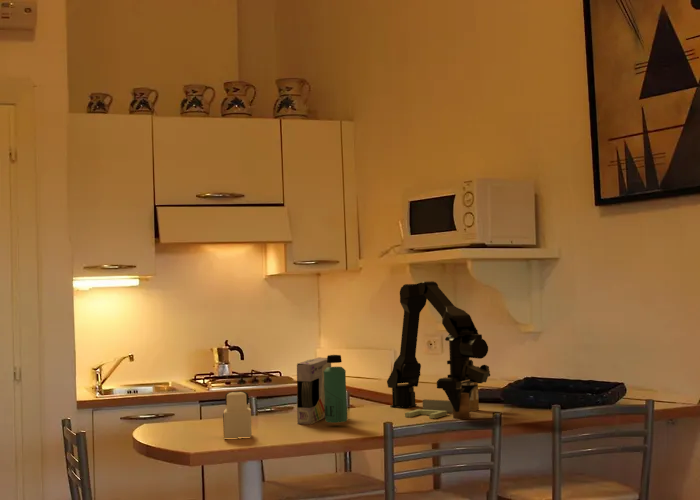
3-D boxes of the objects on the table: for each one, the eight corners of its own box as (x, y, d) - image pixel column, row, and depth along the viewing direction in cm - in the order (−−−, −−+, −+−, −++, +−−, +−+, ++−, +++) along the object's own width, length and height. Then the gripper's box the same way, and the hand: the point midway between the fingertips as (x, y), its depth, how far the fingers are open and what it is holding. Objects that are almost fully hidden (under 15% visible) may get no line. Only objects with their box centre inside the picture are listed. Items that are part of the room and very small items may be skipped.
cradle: (404, 416, 284) (404, 412, 284) (418, 413, 291) (418, 409, 291) (434, 418, 279) (434, 414, 279) (447, 414, 285) (446, 410, 285)
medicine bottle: (224, 435, 259) (223, 390, 259) (251, 434, 259) (250, 389, 260) (223, 440, 252) (222, 393, 252) (251, 438, 252) (250, 392, 253)
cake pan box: (311, 425, 274) (309, 362, 274) (294, 424, 275) (293, 362, 276) (333, 415, 292) (332, 357, 292) (318, 415, 293) (316, 357, 294)
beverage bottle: (351, 424, 272) (349, 353, 272) (343, 428, 266) (341, 355, 266) (329, 424, 274) (327, 353, 275) (321, 427, 268) (319, 355, 268)
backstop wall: (422, 411, 295) (422, 399, 295) (425, 410, 297) (424, 399, 297) (455, 413, 289) (454, 401, 289) (457, 412, 291) (456, 400, 291)
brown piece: (450, 418, 279) (449, 394, 279) (457, 416, 283) (457, 392, 283) (465, 419, 276) (464, 394, 276) (472, 417, 280) (471, 392, 281)
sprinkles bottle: (482, 410, 294) (480, 366, 294) (470, 411, 291) (469, 367, 292) (472, 409, 297) (471, 365, 298) (461, 410, 295) (459, 366, 295)
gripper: (470, 360, 268) (472, 416, 267) (498, 354, 284) (500, 407, 283) (434, 359, 274) (436, 414, 274) (464, 354, 290) (465, 406, 289)
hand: (461, 410), depth 280 cm, fingers closed on brown piece, 5 cm apart
